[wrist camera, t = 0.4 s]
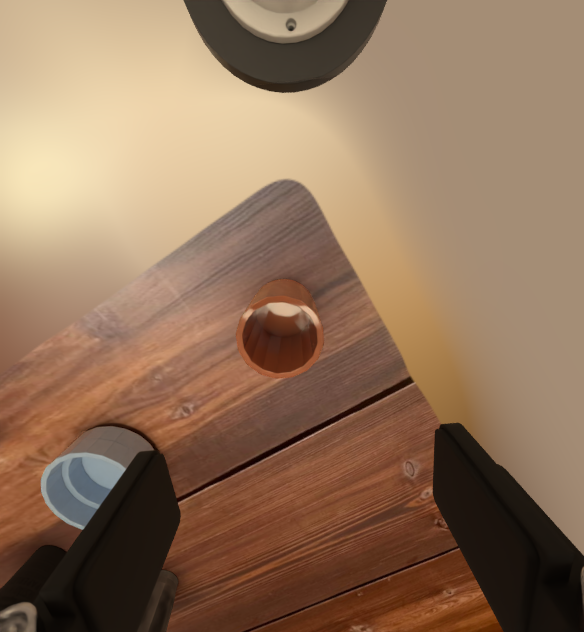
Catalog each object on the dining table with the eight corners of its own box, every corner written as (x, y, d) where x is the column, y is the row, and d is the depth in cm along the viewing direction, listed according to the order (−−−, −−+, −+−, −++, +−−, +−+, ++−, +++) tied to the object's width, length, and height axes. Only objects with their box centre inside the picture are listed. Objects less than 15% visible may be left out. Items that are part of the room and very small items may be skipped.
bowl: (62, 426, 35) (26, 456, 30) (152, 419, 35) (129, 449, 30) (88, 497, 38) (59, 535, 33) (170, 491, 38) (152, 529, 33)
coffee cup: (248, 281, 30) (230, 300, 21) (312, 276, 30) (320, 292, 21) (256, 341, 32) (242, 381, 23) (316, 336, 31) (325, 374, 23)
